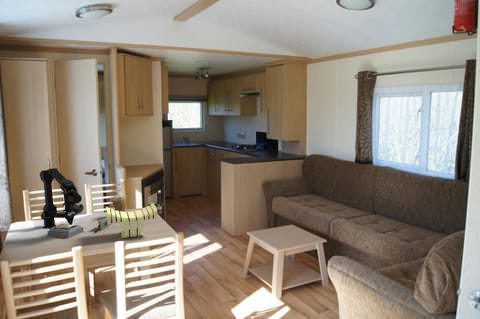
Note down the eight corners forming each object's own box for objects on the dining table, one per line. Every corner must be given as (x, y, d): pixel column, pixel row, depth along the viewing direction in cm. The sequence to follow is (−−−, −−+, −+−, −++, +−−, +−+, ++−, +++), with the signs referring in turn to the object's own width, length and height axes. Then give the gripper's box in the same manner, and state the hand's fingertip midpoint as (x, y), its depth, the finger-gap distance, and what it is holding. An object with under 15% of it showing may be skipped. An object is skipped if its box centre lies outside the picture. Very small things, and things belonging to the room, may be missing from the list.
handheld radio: (116, 222, 287) (98, 233, 262) (112, 222, 287) (93, 233, 263) (115, 213, 286) (97, 223, 261) (111, 213, 286) (92, 223, 262)
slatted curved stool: (108, 241, 247) (107, 213, 245) (107, 233, 262) (106, 206, 259) (157, 235, 257) (156, 208, 255) (154, 228, 272) (153, 202, 270)
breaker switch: (55, 228, 259) (55, 226, 259) (62, 225, 265) (62, 223, 265) (68, 227, 256) (68, 225, 256) (75, 224, 262) (74, 222, 262)
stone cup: (111, 216, 302) (110, 196, 300) (127, 214, 308) (127, 194, 306) (115, 221, 289) (114, 200, 287) (132, 219, 294) (131, 199, 292)
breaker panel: (47, 235, 257) (47, 229, 256) (63, 229, 270) (62, 222, 270) (68, 238, 253) (68, 231, 252) (83, 231, 266) (82, 224, 265)
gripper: (69, 205, 246) (71, 230, 248) (88, 198, 264) (90, 221, 266) (54, 204, 249) (56, 228, 251) (74, 197, 267) (76, 220, 269)
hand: (70, 225), depth 259 cm, fingers closed, pressing on breaker switch
